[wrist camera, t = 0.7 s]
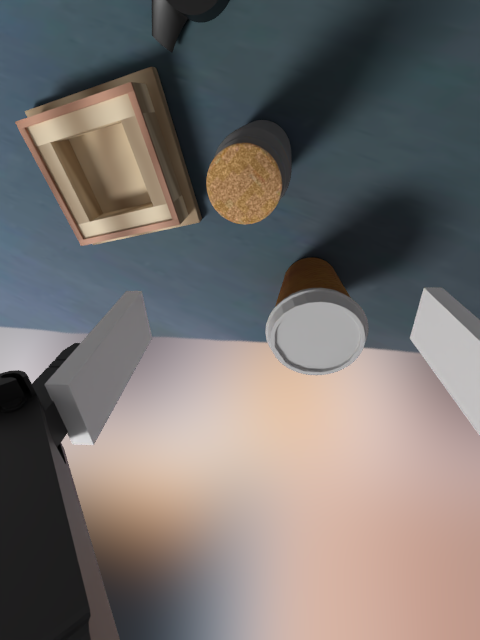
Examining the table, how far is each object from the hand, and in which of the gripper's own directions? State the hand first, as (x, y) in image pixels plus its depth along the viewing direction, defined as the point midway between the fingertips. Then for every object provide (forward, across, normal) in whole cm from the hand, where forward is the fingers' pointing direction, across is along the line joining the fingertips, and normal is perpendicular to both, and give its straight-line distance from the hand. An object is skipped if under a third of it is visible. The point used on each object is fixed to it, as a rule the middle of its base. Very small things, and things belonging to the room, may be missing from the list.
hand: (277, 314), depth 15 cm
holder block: (+24, -16, +5) cm, 29 cm away
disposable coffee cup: (+23, +5, -8) cm, 25 cm away
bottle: (+23, -1, +6) cm, 23 cm away
